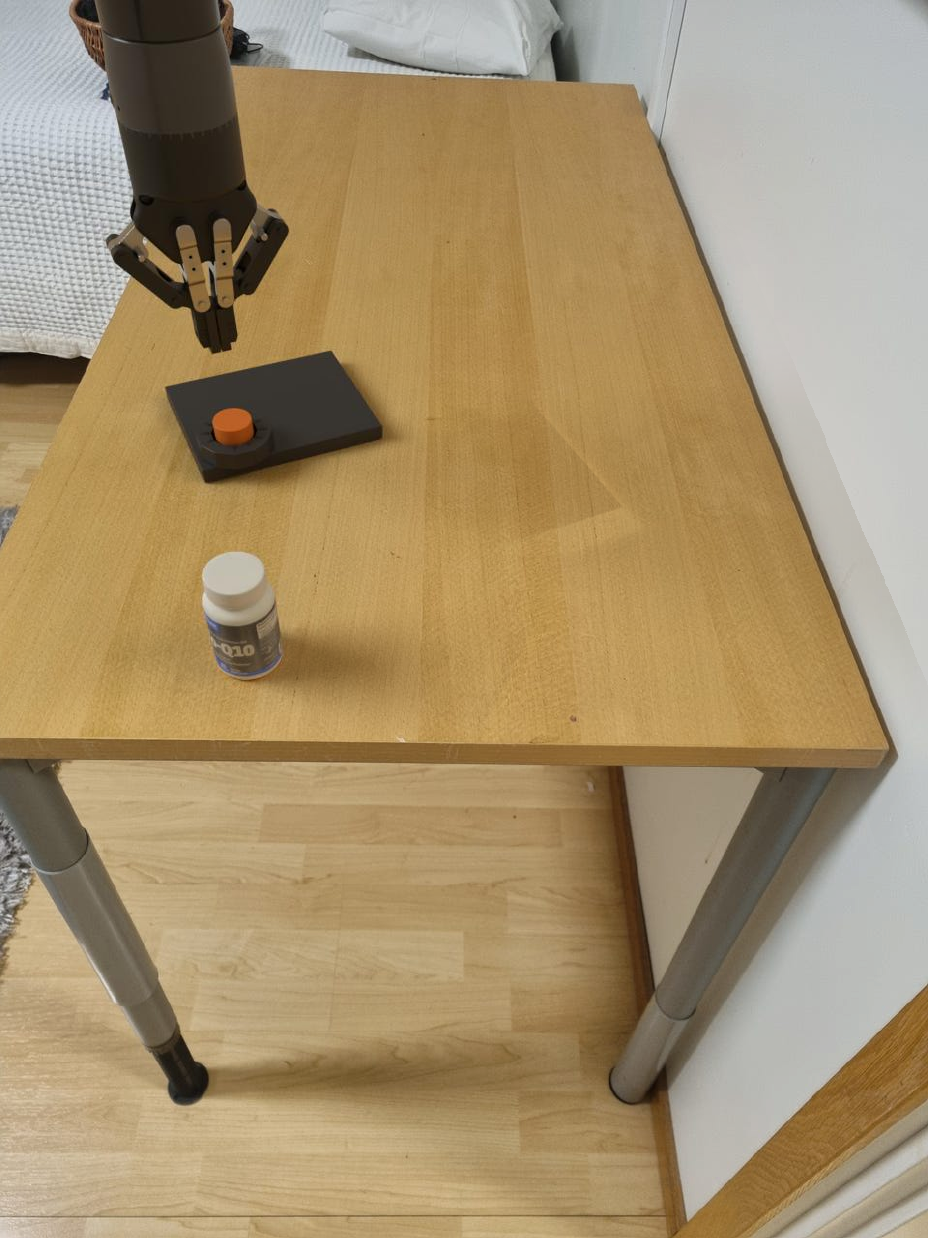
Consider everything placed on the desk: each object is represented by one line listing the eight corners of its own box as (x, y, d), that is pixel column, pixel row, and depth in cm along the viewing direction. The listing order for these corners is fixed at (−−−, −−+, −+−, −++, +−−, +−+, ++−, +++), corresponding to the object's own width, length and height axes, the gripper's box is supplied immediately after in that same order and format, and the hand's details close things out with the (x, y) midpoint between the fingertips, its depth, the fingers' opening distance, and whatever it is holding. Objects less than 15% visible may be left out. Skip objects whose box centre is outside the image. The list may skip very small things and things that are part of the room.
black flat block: (208, 491, 77) (202, 462, 75) (167, 399, 86) (160, 370, 83) (387, 445, 82) (386, 417, 80) (332, 362, 91) (330, 334, 88)
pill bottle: (202, 669, 65) (180, 584, 58) (238, 622, 68) (220, 538, 61) (262, 690, 64) (246, 607, 57) (296, 642, 67) (284, 558, 60)
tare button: (221, 450, 77) (218, 434, 76) (210, 428, 79) (207, 413, 77) (258, 440, 78) (256, 425, 77) (247, 419, 80) (245, 404, 78)
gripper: (79, 142, 55) (143, 392, 68) (295, 113, 59) (316, 354, 72) (57, 97, 59) (121, 340, 72) (259, 73, 63) (286, 307, 76)
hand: (219, 346), depth 72 cm, fingers closed
